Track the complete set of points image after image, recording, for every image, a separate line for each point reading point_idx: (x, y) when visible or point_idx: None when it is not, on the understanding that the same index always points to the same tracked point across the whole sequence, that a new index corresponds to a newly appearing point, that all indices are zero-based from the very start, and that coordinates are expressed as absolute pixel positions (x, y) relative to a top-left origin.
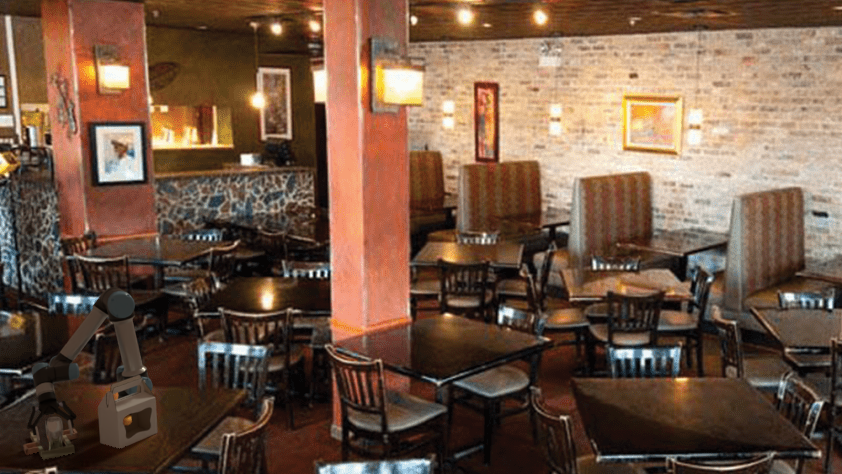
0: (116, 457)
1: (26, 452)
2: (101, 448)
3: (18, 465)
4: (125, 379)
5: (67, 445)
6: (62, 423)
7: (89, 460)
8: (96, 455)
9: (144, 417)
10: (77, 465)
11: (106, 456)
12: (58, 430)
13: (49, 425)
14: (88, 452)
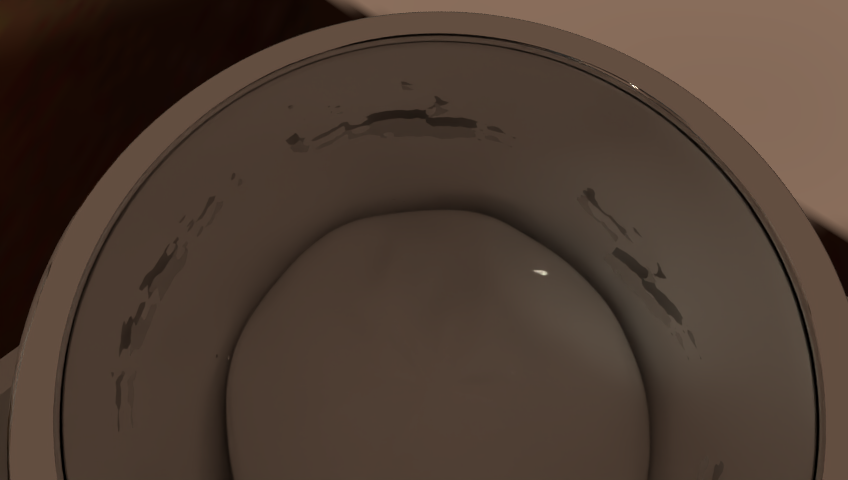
0: (33, 9)
1: None
2: (9, 243)
3: (839, 251)
4: None
5: None
6: (173, 337)
7: (221, 50)
8: (130, 112)
9: None
10: (331, 12)
11: (79, 58)
12: (368, 213)
13: (601, 148)
14: None
